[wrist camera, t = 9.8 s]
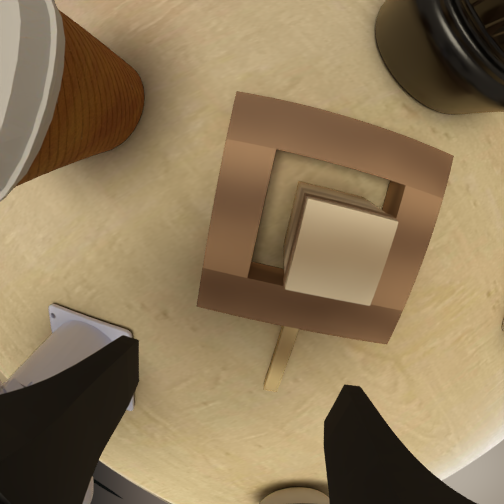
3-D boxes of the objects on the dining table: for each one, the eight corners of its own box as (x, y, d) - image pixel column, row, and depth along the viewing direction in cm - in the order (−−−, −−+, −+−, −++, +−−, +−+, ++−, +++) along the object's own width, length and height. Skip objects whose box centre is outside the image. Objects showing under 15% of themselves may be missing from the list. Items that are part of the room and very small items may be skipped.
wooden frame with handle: (342, 394, 23) (347, 416, 20) (193, 366, 23) (185, 388, 21) (434, 153, 16) (453, 155, 14) (242, 98, 16) (236, 91, 14)
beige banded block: (346, 260, 19) (370, 307, 14) (282, 246, 19) (283, 290, 14) (364, 196, 18) (399, 220, 12) (297, 180, 18) (306, 197, 12)
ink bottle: (509, 77, 14) (633, 67, 2) (445, 147, 16) (594, 173, 5) (419, -30, 12) (503, -115, 1) (338, 27, 14) (405, -94, 3)
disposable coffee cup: (135, 12, 15) (17, -67, 3) (195, 127, 17) (68, 108, 6) (34, 94, 17) (-97, 93, 6) (80, 202, 19) (-60, 263, 8)
